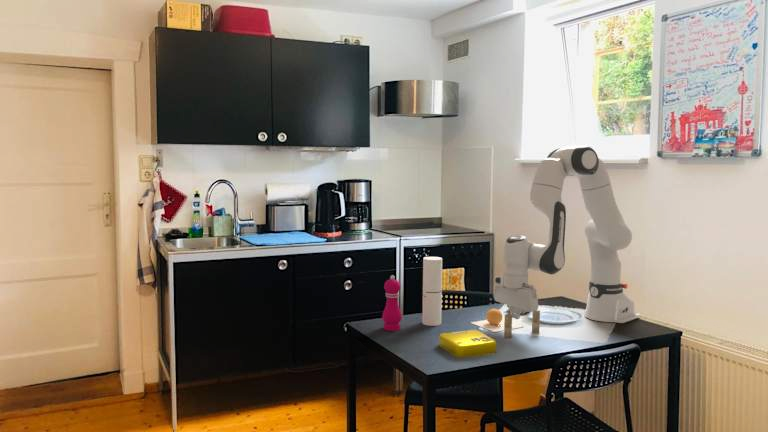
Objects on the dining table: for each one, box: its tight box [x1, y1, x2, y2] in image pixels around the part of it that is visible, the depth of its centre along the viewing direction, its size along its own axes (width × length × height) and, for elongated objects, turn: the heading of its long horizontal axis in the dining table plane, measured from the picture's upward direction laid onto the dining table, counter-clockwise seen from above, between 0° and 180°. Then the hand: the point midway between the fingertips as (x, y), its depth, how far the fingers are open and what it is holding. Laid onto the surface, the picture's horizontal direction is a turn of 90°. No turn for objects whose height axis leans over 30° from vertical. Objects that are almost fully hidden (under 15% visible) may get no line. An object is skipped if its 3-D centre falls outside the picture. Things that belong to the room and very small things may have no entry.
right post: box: [531, 309, 541, 334], centre depth 242 cm, size 3×3×8 cm
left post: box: [503, 313, 513, 339], centre depth 236 cm, size 3×3×8 cm
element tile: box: [438, 329, 497, 359], centre depth 223 cm, size 15×15×5 cm
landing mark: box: [470, 318, 524, 333], centre depth 252 cm, size 14×14×1 cm
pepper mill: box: [381, 274, 403, 332], centre depth 245 cm, size 7×7×20 cm
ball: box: [485, 308, 503, 325], centre depth 252 cm, size 6×6×6 cm
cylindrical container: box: [421, 256, 443, 327], centre depth 252 cm, size 7×7×25 cm
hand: (515, 318), depth 243 cm, fingers closed
